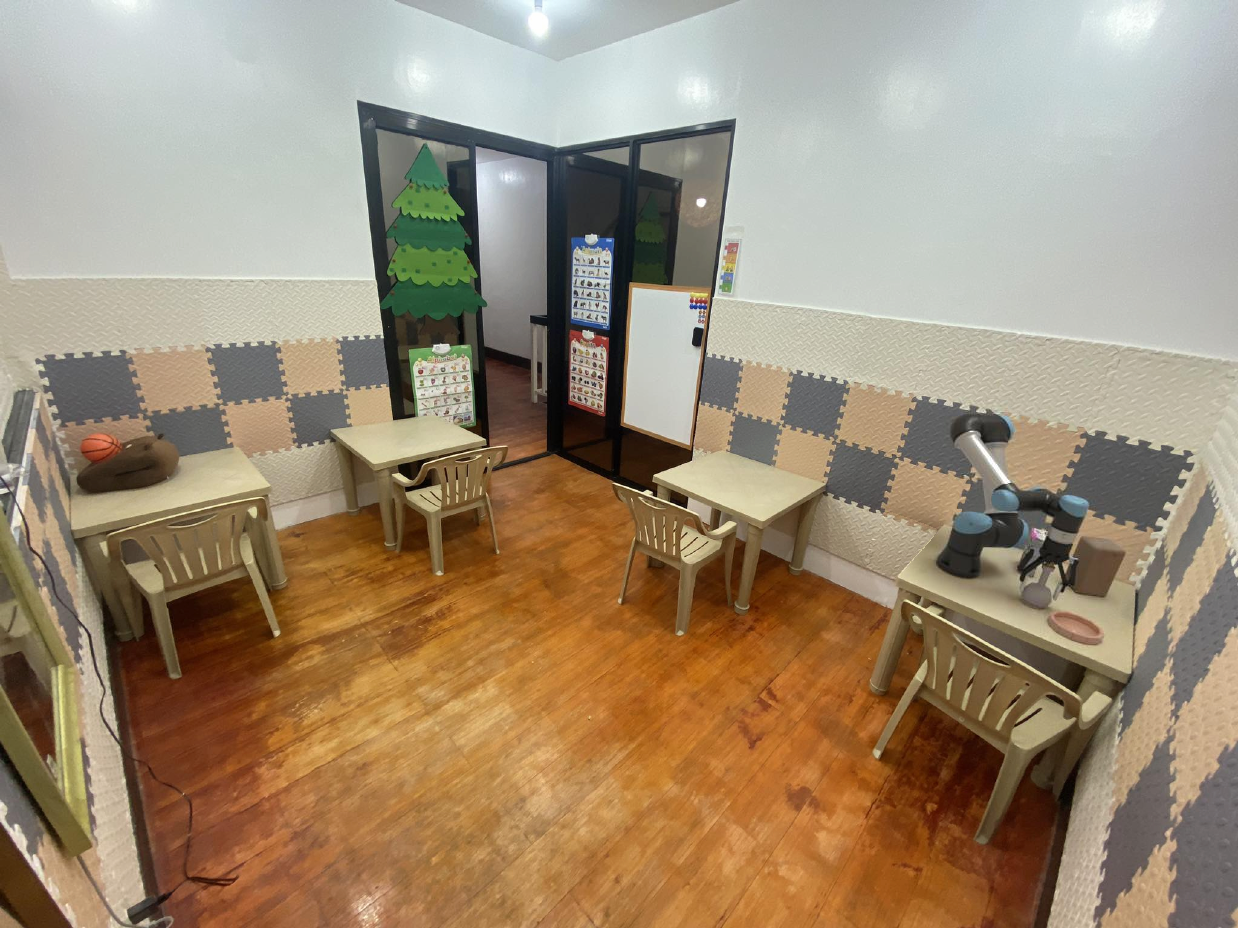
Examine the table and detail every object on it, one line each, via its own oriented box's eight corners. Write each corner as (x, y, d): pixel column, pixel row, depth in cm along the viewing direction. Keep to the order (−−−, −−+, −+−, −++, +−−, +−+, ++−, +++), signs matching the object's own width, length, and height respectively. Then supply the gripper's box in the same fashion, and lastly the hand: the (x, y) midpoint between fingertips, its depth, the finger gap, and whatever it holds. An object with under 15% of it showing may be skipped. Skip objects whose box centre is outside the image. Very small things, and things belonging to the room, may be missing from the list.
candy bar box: (1018, 561, 217) (1031, 526, 211) (1033, 566, 214) (1047, 530, 208) (1017, 573, 208) (1031, 537, 202) (1033, 577, 206) (1047, 541, 200)
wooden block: (1106, 597, 195) (1128, 551, 188) (1076, 593, 197) (1096, 547, 189) (1089, 583, 204) (1110, 538, 197) (1061, 579, 206) (1080, 534, 199)
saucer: (1051, 633, 174) (1054, 627, 173) (1045, 611, 185) (1047, 605, 184) (1105, 650, 167) (1108, 643, 166) (1095, 626, 178) (1098, 620, 178)
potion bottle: (1039, 612, 184) (1057, 569, 178) (1013, 598, 192) (1029, 556, 185) (1054, 607, 188) (1072, 564, 181) (1028, 593, 195) (1044, 552, 188)
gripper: (1022, 534, 182) (1002, 588, 190) (1102, 553, 172) (1077, 610, 180) (1020, 526, 188) (1000, 578, 196) (1097, 544, 178) (1073, 599, 186)
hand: (1037, 593), depth 188 cm, fingers open, 9 cm apart
